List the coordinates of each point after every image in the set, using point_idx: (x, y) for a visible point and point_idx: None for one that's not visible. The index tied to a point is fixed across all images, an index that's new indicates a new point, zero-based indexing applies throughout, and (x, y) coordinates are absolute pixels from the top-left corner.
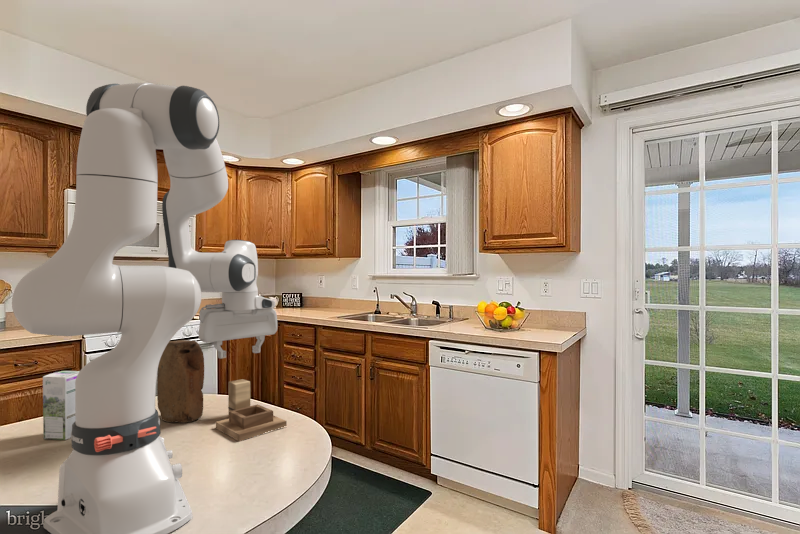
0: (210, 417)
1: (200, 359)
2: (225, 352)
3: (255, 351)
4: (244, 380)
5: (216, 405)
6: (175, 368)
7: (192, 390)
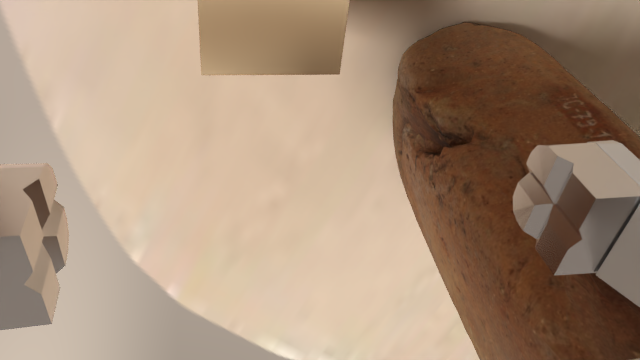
0: (364, 28)
1: (573, 300)
2: (597, 185)
3: (42, 174)
4: (215, 17)
5: (245, 177)
6: None
7: (560, 98)
